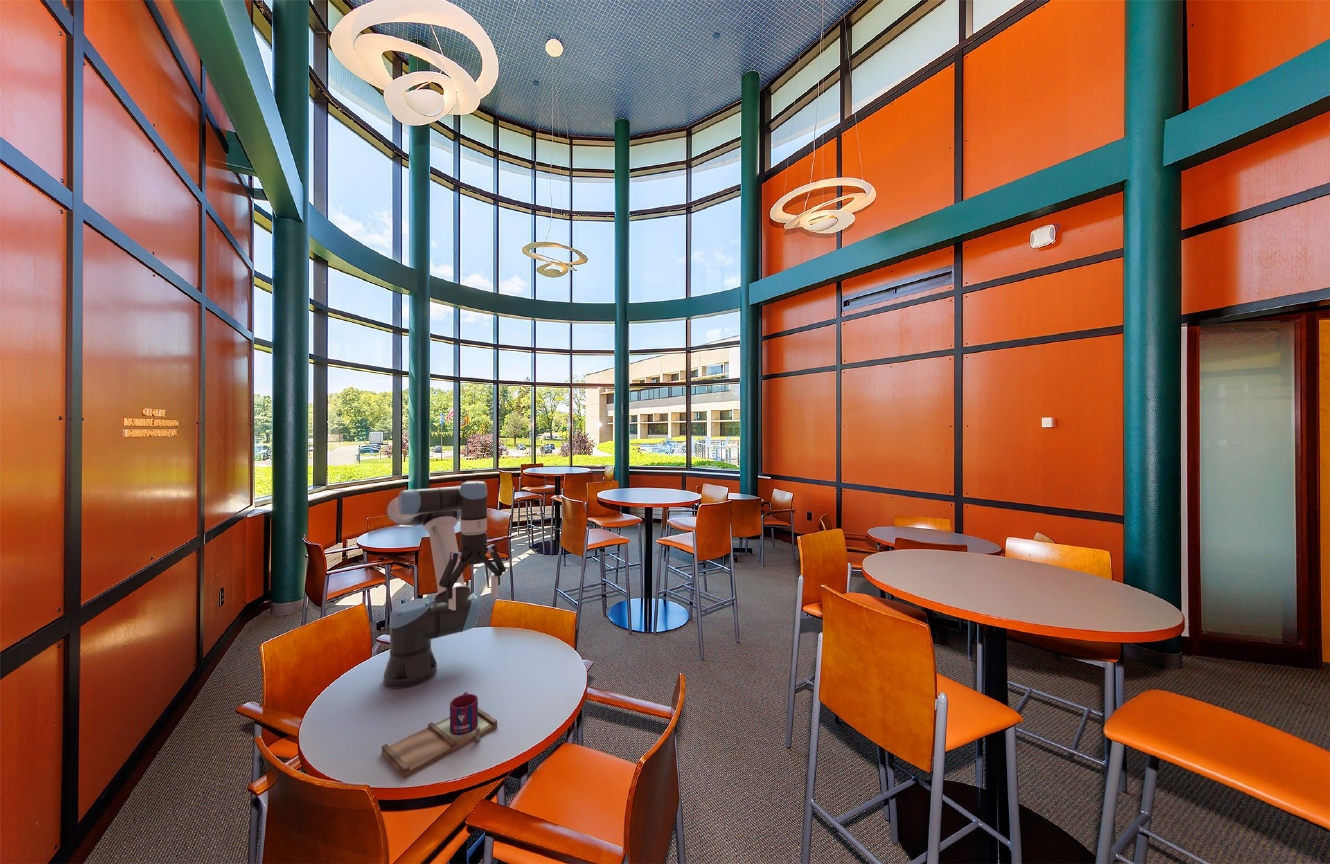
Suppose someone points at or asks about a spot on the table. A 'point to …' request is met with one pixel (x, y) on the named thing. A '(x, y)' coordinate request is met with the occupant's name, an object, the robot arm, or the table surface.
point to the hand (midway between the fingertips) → (474, 602)
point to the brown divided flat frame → (433, 744)
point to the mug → (463, 714)
